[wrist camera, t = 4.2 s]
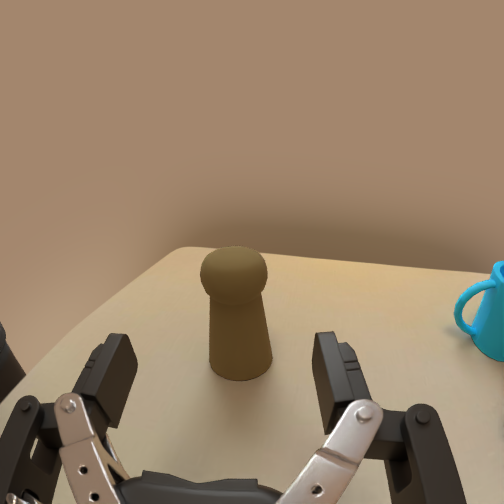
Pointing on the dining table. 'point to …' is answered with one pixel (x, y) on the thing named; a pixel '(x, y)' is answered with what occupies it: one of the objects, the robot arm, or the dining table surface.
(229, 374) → the cork
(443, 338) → the dining table surface
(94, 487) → the robot arm
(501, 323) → the mug
